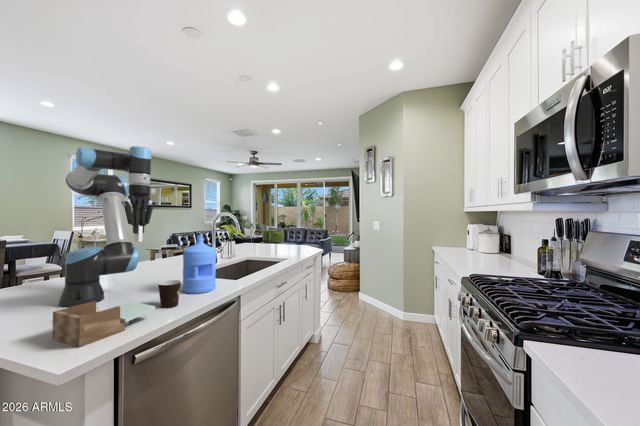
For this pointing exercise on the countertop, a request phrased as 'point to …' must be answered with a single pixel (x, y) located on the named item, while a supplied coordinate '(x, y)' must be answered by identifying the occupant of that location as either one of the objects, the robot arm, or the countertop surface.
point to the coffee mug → (169, 293)
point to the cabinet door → (133, 311)
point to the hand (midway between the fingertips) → (138, 241)
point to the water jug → (199, 268)
